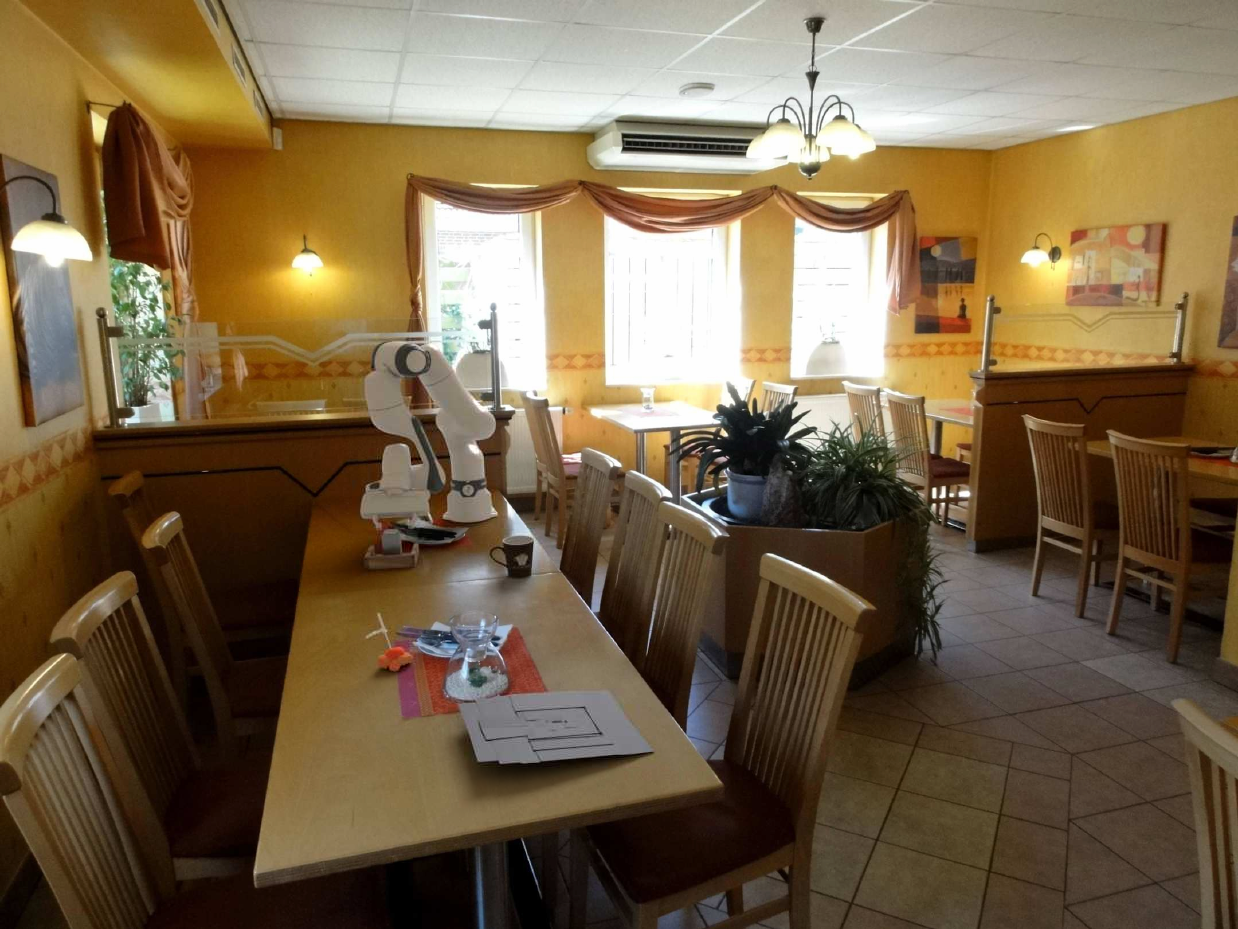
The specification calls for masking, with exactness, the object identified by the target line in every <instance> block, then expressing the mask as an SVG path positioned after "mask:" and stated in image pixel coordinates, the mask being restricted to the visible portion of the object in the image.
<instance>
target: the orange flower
mask: <svg viewBox="0 0 1238 929" xmlns="http://www.w3.org/2000/svg"><path fill="white" fill-rule="evenodd" d="M377 618H378V621H379V623H380V626H381V628H379V629H378V630H374V631H371V633H369V634H367V635H365V639H369V638H370V637H373V636H374V635H376V634H377V635H378V634H380V633H381V632H382V634H384V636H385V639H386V642H387V643H388V646H389V647H388V648H389V649H387V650H386V651H385V652H384V654H382V655H379V657H378V659H377V665H378V667H380V668H381V669H388V668H389V670H390V672H397V671H399V670H400V667H401V666H405V665H407V664H410V663H411V662H412V661H413V659H414V657H413V655H412V654H410V652H406V651H405V648H404V647H401V646H396V647H392V646H391V642H390V640H389V637H388V634H387V633H388V630H387V629H386V627H385V625H384V622H383V618H382V616H381V614H380V612H377Z"/></svg>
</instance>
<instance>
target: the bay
mask: <svg viewBox="0 0 1238 929" xmlns="http://www.w3.org/2000/svg"><path fill="white" fill-rule="evenodd" d="M419 547H420V546H419V542H413V546H412V549H411V551H410V552H402V555H387V556H383V553H382V554H381V553H379V554H378V553H377V554H376V549H375V548H376V546H375V545H373V544H372V545H371V544H370V545H369V547H368V549H367V551H366V554H365V555H364V558H363V562H364V570H365V571H368V570H382V569H383V570H384V569H402V568H415V567H416V566H417V562H418V559H419V555H420V550H419V549H420V548H419Z"/></svg>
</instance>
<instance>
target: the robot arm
mask: <svg viewBox="0 0 1238 929" xmlns="http://www.w3.org/2000/svg"><path fill="white" fill-rule="evenodd" d="M370 365H371V366H370V368H371V372H369V373H368V374H367V375H366V376H365V379H364V394H365V401H366V405H367V409H368V413H369V416H370V419H371V422H372V424H373V425H374V426H375V427H376V428H377V429H378V430H380V431H382V432H384V433H387V434H389V435H390V434H391V435H396V436H400V437H403V438H407V439H408V440H411V441H412V442H413V443H414V445H415V447H416V450H417V451H418V454H419V456H420V458H421V462H423V463H420V464H415V465H412V462H411V452H410V447H409V446H408V445H407V444H404V443H391V444H389V445H386V446H385V448H384V450H383V454H382V461H381V470H382V477H381V479H380V480H377V481H374V482H370V483H368V484H366V485H365V493H364V494H363V496H362V499H361V503H360V515H361V518H363V519H364V520H370V519H371V520H372V521H373V523H374V525H375V530H376V531H382V525H383V524H382V522H379V519H389V518H392V519H393V518H409V517H410V518H411V517H412V518H411V520H409V521H408V522H407V527H408V529H411V530H412V529H413V530H414V528H415V527H414V524H415V523H416V522H417V520H418V517H425V516H426V517H427V516H428V515H429V514H430V505H429V500H430V498H431V494H438V493H439V492H441V490H443V488H444V487H445V486H446V484H447V482H446V481H447V479H446V473H445V470H444V468H443V466H442V464H441V463H440V461H439V459H438V457H437V455H436V453H435V450H434V448H433V446H432V443H431V441H430V439H429V436H428V435H427V432H426V430H425V427H424V426H423V424H422V421H420V419H419V417H418V416H415V415H413V414H412V413H411V412H410V411H409V410H408V408H407V406H406V405H405V401H404V398H403V394H402V389H401V387H402V386H401V385H402V380H403V378H407V379H409V378H416V377H418V379H419V380H420V383H421V384H422V385H423V387H424V388H425V390H426V392H427V394H428V395H429V396H430V398H431V400H432V401H433V403H434V404H435V405H436V406H437V407H439V410H438V411H437V413H436V416H435V425H436V426H437V429H439V431H440V432H441V434H442V435H443V438H444V440H445V444H446V446H447V449H448V452H449V456H450V457H449V458H450V467H451V478H450V487H451V488H450V489H451V490H450V492H449V493H448V494H447V498H446V500H447V502H446V503H447V511H446V512H444V514H443V515H442V519H443V520H448V521H452V522H456V523H457V522H458V523H476V522H481V521H482V522H483V521H486V520H489V519H492V518H496V517H498V516H499V514H498V512H497V511H496V509H495V508H494V507H493V502H492V493H491V492H490V491H489V490H488V489H487V477H486V476H485V460H484V454H483V452H482V450H481V449H480V447H479V446H478V444H477V442H476V441H481V440H486V439H489V438H490V437H491V436H493V435H494V433H495V431H496V425H497V424H496V418H495V416H494V415H493V414H492V412H490V411H489V410H487V409H486V408H484V407H483V406H482V405H481V404H480V403H479V402H478V401H477V399H475V397H474V396H473V395H472V394H471V393H470V392H469V391H468V389H467V388H466V386H465V385H463V383H462V381H461V380H460V378H459V376H458V374H457V373H456V371H455V370H454V367H453V366H452V364H451V363H450V361H449V360H448V358H447V357H446V356H445V354H444V353H443V352H442V350H440V348H439V347H437V346H436V345H435V344H432V343H426V344H422V345H418V344H416V343H413V342H406V341H403V340H402V341H401V340H399V341H398V340H397V341H391V340H390V341H389V340H387V341H382V342H381V343H378V344H377V345H376V346H375V347H374V348H373V350H372V353H371V364H370Z"/></svg>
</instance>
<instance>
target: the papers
mask: <svg viewBox="0 0 1238 929" xmlns="http://www.w3.org/2000/svg"><path fill="white" fill-rule="evenodd" d="M474 701H475V702H474ZM474 701H473V702H461V703H457V706H458V708H459V710H460V712H461V715H462V718H463V721H464V724H465V725H466V726H465V727H466V730H467V732H468V735H469V738H470V740H471V744H472V747H473V750H474V751H473V752H474V754H475V756H476V760H477V762H478V763H480V762H481V763H482V762H494V761H495V762H496V761H498V763H499V765H500V764H501V765H502V764H503V765H504V764H514V763H516V764H517V763H520V764H529V763H532V764H533V763H544V762H548V761H558V760H559V761H560V760H570V759H581V758H594V757H603V756H613V755H616V756H621V755H635V754H642V753H650V752H655V750H654V749H653V748H652V747H651V745H650V743H648V741H647V740H646V739H645V738H644V737H643V736H642V734H641V733H640V732H639V731H638V729H637V728H636V726H635V725H633V723H632V722H631V721H630V720H629V718H628V717H627V716H626V714H625V712H624V710H623V709H622V707H621V706H620V704H619V703H618V701H617V700H616V698H615V696H614V695H613V693H612V692H611V690H609V689H608V690H607V689H603V690H593V689H591V690H577V689H576V690H562V691H548V692H547V691H545V692H533V693H532V692H531V693H530V692H528V693H518V694H517V693H515V694H509V695H498V696H492V697H487V698H484V697H483V698H475V699H474Z"/></svg>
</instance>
